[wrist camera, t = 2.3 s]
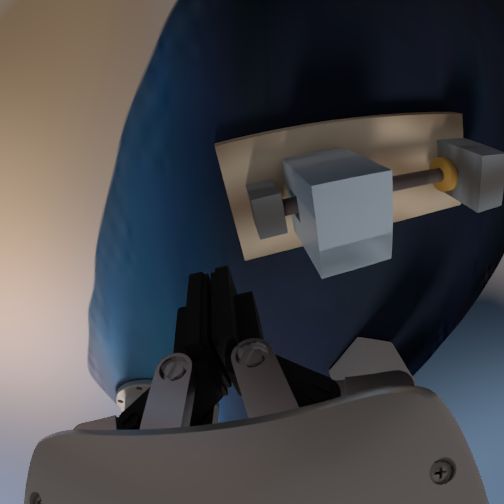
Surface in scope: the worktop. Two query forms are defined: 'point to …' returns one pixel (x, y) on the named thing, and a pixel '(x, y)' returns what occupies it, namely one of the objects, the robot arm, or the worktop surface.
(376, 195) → the sleeve
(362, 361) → the milk carton
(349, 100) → the worktop surface
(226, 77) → the worktop surface
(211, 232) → the worktop surface
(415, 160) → the slider mechanism
